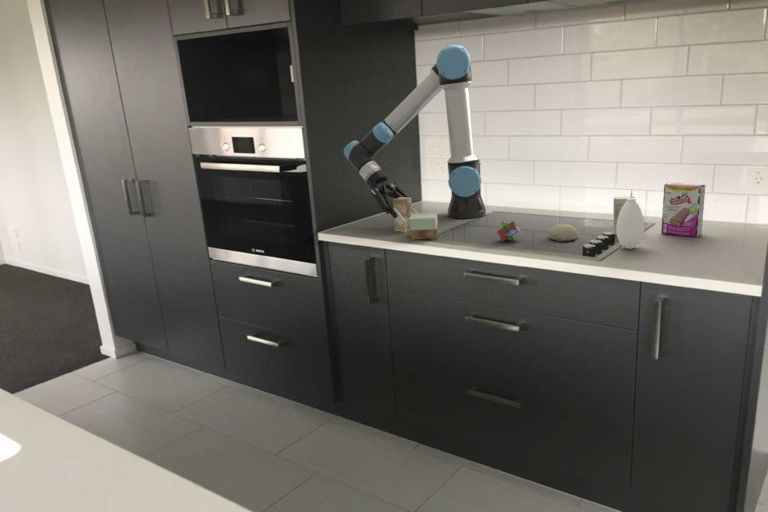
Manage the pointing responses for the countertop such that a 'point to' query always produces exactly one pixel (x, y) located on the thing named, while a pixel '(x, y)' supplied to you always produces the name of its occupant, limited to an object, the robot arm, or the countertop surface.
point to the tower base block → (424, 234)
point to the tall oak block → (403, 212)
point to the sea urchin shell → (563, 232)
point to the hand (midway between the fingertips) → (410, 220)
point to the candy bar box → (683, 209)
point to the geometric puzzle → (508, 231)
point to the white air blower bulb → (630, 224)
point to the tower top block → (423, 221)
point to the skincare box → (618, 209)
